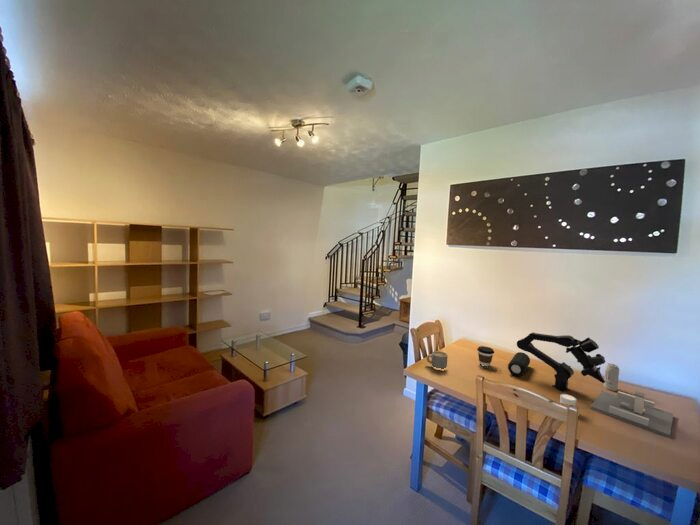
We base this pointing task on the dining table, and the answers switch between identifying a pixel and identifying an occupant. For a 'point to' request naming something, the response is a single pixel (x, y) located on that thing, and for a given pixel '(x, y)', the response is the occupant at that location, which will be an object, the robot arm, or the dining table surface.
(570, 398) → the white cylinder
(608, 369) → the energy drink can
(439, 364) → the coffee mug
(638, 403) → the beige rectangular block
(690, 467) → the dining table surface
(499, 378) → the dining table surface
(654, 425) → the breaker panel
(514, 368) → the portable speaker
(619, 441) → the dining table surface
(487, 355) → the coffee cup
